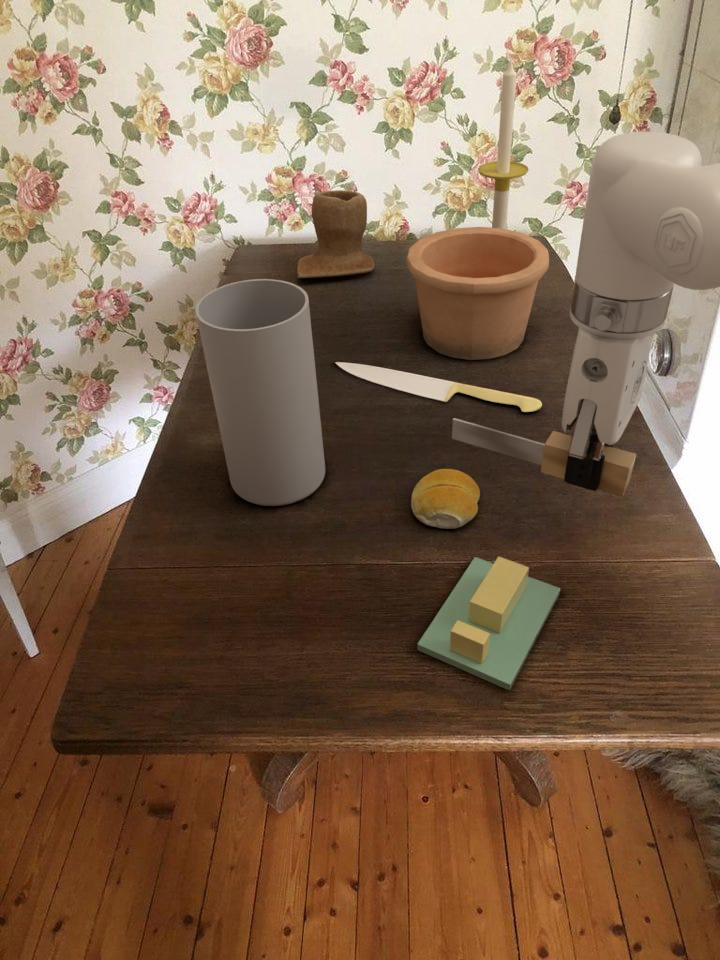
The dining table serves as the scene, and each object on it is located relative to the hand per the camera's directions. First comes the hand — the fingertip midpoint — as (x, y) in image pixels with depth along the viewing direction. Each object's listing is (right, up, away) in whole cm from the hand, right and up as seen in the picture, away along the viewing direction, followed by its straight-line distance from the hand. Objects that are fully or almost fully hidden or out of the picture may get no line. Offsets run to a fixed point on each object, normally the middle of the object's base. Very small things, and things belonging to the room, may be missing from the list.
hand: (586, 474), depth 73 cm
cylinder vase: (-33, 0, +27) cm, 42 cm away
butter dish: (-8, -15, +6) cm, 19 cm away
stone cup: (-27, +41, +76) cm, 90 cm away
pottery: (-3, +23, +53) cm, 58 cm away
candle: (+4, +37, +69) cm, 78 cm away
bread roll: (-11, -4, +21) cm, 24 cm away
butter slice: (-11, -18, +2) cm, 21 cm away
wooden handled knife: (-4, +1, +2) cm, 5 cm away
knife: (-11, +13, +41) cm, 45 cm away
